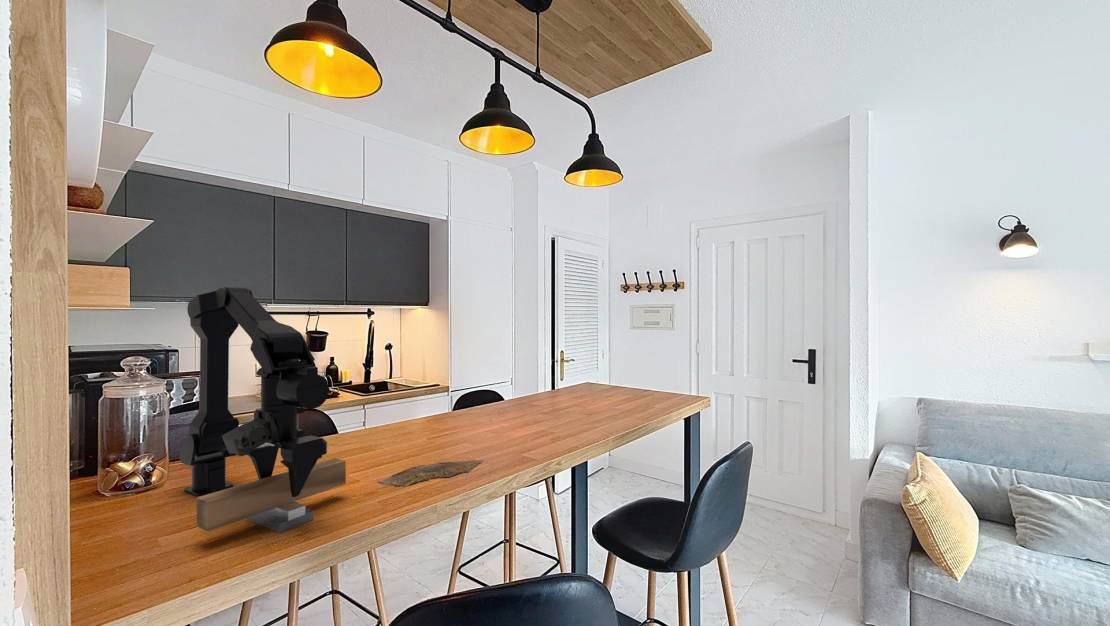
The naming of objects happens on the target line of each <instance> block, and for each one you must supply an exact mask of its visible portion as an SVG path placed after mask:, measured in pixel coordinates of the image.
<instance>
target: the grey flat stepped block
mask: <svg viewBox="0 0 1110 626" xmlns="http://www.w3.org/2000/svg"><path fill="white" fill-rule="evenodd" d="M246 520H247V521H249V522H251V523H254V524H257V525H258V526H262V527H264V528H266V529H269V530H271V531H274V532H277V533H279V534H281V533H283V532H285V531H288V530H291V529H293V528H296V527H298V526H301V525H304V524H306V523H308V522H312V521H313V520H314V510H311V509H308V508H306V505H304V504H303V503H299V502H297V501H295V502H292V503H289V504H286V505H283V506H280V507H277V508H274V509H271V510H269V511H266V512H263V513H260V514H257V515H254V516H251V517H248V518H246Z"/></svg>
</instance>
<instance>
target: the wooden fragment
mask: <svg viewBox="0 0 1110 626" xmlns="http://www.w3.org/2000/svg"><path fill="white" fill-rule="evenodd" d="M483 462H484V459H478V460H464V461H448V462H447V461H446V462H436V463H429V464H428V463H427V464H420V465H417V466H413V467H410V468H406V469H404V470H402V471H400V472H398V473H397V472H396V473H395V474H391V475H389V476H387V477H385V478H382V479H379V480H377V482H376V484H380V485H383V486H387V487H388V486H391V487H397V488H398V487H401V488H405V487H408V486H410V485H413V484H417V483H419V482H425V481H430V480H433V479H434V480H435V479H443V478H448V477H454V476H456V475H458V474H462V473H463V474H464V473H469V472H471V471H472V470H474V469H475V468H476V467H477V466H478V465H479V464H483Z"/></svg>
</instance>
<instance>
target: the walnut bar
mask: <svg viewBox="0 0 1110 626" xmlns="http://www.w3.org/2000/svg"><path fill="white" fill-rule="evenodd" d="M346 464H347V463H346V460H343V459H340V458H336V457H333V458H330V459H326V460H323V461H319V462H316V464H315V465H314V467H313V469H312V471H311V472H310V474H309V476H308V478H307V480H306V482H305V484H304V486H303V488H302V490H301V492H300V494H299V496H296V497H292V495H291V489H290V481H289V471H288V470H287V471H284V472H281V473H280V472H279V473H277V474H274V475H273V474H272V476H270V477H267V478H263V479H260V480H259V479H257V480H254V481H249V482H246V483H243V484H239V485H236V486H233V487H230V488H227V489H223V490H220V491H216V492H213V493H209V494H206V495H202V496H197V497H196V527H197V528H200V530H201V529H202V530H204V531H206V532H211V531H213V530H217V529H219V528H221V527H225V526H227V525H228V526H229V525H231V524H233V523H237V522H239V521H242V520H247V518H248V517H251V516H254V515H257V514H260V513H263V512H266V511H269V510H271V509H274V508H277V507H280V506H283V505H286V504H289V503H292V502H297V501H300V500H303V499H305V498H309V497H312V496H315V495H317V494H321V493H324V492H325V491H329V490H332V489H335V488H338V487H340V486H343V485H346V483H347V482H346V481H347V480H346V478H347V477H346V476H347V475H346V474H347V470H346V468H347V467H346V466H347V465H346Z"/></svg>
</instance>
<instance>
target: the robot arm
mask: <svg viewBox="0 0 1110 626" xmlns="http://www.w3.org/2000/svg"><path fill="white" fill-rule="evenodd" d="M186 309H187V315H188V317H189V321H190V327H191V328H192V330H193V331H194V333H195V334H196V335H197V336H198V338H199V339H200V341H199V343H200V346H199V349H200V350H199V352H200V354H199V359H200V360H199V409H198V410H199V411H198V412H197V413H196V414H195V416H194V417H193V419H192V420H191V422H190V423H189V426H188V427H189V428H188V435H187V436H186V437H185V440H184V442H183V444H182V445H181V447H180V449H179V453H178V455H179V461H180V464H181V463H182V464H185V465H187V466H189V467H191V485H190V486H186V487H184V488H183V491H184V492H187V493H190V494H192V495H194V496H197V497H201V496H204V495H207V494H211V493H214V492H218V491H221V490H225V489H228V488H232V487H234V483H232V482H228V481H227V479H226V478H227V476H226V475H227V474H226V473H227V472H226V471H227V469H226V468H227V466H226V465H227V461H226V460H227V458H229V457H236V456H238V457H244V456H247V457H249V458H250V459H251V462H252V465H253V467H254V469H255V473H256V475H257V477H258V480H260V479H263V478H267V477H270V476H273V473H274V468H275V464H276V461H277V457H278V453H279V450H280V456H281V459H282V460H280V463H281V464H282V465H284V467H286V468H287V471H289V481H290V489H291V495H292V497H296V496H299V494H300V492H301V490H302V488H303V486H304V484H305V482H306V480H307V478H308V476H309V474H310V472H311V471H312V469H313V467H314V465H315V464H316V463H318V460H319V459H322V458H323V456H325V455H327V454H328V441H326V440H325V439H324V438H323V437H320V436H315V435H306V436H304V431H305V430H304V429H301V428H299V414H303V413H304V409H306V410H307V409H309V410H312V409H313V410H314V409H316V408H319V407H321V406H322V405H323V404H324V403H325V402H326V400H327V399H328V398H329V394H330V386H329V382H328V381H327V380H326V378H325V377H324V376H322V375H321V374H319V370H318V369H319V368H318V367H317V365H316V364H315V360H316V358H315V357H314V356H313V353H312V351H310V349H309V346H308V344H307V341H306V340H305V337H304V336H303V335H302V333H301V332H300V331H299V330H297V329H296V328H294V327H293V326H291V325H288V324H284V323H282V322H281V323H280V322H278V321H277V320H276V319H275V318H274V317H273V316H272V315H271V313H269V312H268V311H267V310H266V308H264V306H263V305H261V303H260V302H259V301H258V300H257V299H256V297H254V296H253V292H252V290H251V289H250V288H247V287H243V286H223V287H219V288H217V289H216V290H213V291H210V292H206V293H202V294H196V295H195V296H194V297H193V298H192V299H191V300H190V301H188V304H187V308H186ZM238 327H241V328H242V330H243V331H244V332H245V333H246V334H247V336H248V337H250V339H251V345H250V352H251V353H252V355H253V357H254V359H255V360H256V362H257V363H258V364H259V366H260V367H259V368H258V369H257V371H256V372H255V373H256V376H257V377H260V390H261V391H260V408H258V409H255V411H253V419H252V420H250V421H248V422H245V423H242V424H241V425H240V421H239V419H238V418H237V417H234V415H233V414H232V413H231V411H230V410H229V380H230V379H229V372H230V371H229V365H230V364H229V363H230V362H229V361H230V360H229V359H230V358H229V357H230V353H229V352H230V339H231V337H232V335H233V334H234V333H235V331H236V330H237V328H238Z"/></svg>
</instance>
